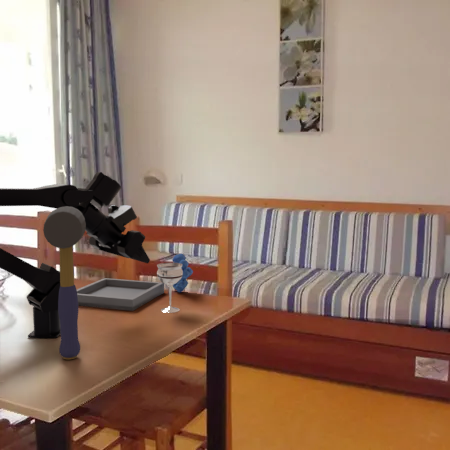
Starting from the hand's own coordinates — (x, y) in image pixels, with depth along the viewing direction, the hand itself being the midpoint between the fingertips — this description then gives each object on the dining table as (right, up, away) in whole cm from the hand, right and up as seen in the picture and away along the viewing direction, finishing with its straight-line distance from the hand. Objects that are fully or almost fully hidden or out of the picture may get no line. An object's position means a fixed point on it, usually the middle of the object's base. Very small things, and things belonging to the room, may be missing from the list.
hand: (138, 259), depth 129 cm
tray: (-9, -12, +16) cm, 22 cm away
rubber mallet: (-9, -18, -28) cm, 35 cm away
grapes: (+9, -12, +24) cm, 28 cm away
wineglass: (+7, -14, +5) cm, 17 cm away
